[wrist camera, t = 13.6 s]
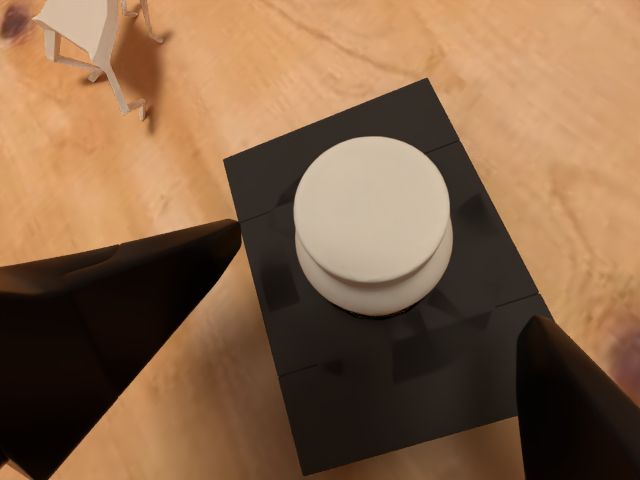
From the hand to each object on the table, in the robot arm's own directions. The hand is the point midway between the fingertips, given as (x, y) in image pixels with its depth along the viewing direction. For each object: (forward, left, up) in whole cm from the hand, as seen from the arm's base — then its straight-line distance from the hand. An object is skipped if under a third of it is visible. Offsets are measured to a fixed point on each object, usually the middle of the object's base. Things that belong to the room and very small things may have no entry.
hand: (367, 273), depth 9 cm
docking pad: (+1, -1, -8) cm, 8 cm away
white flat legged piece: (+21, +11, -8) cm, 26 cm away
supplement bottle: (+1, -1, -8) cm, 8 cm away
